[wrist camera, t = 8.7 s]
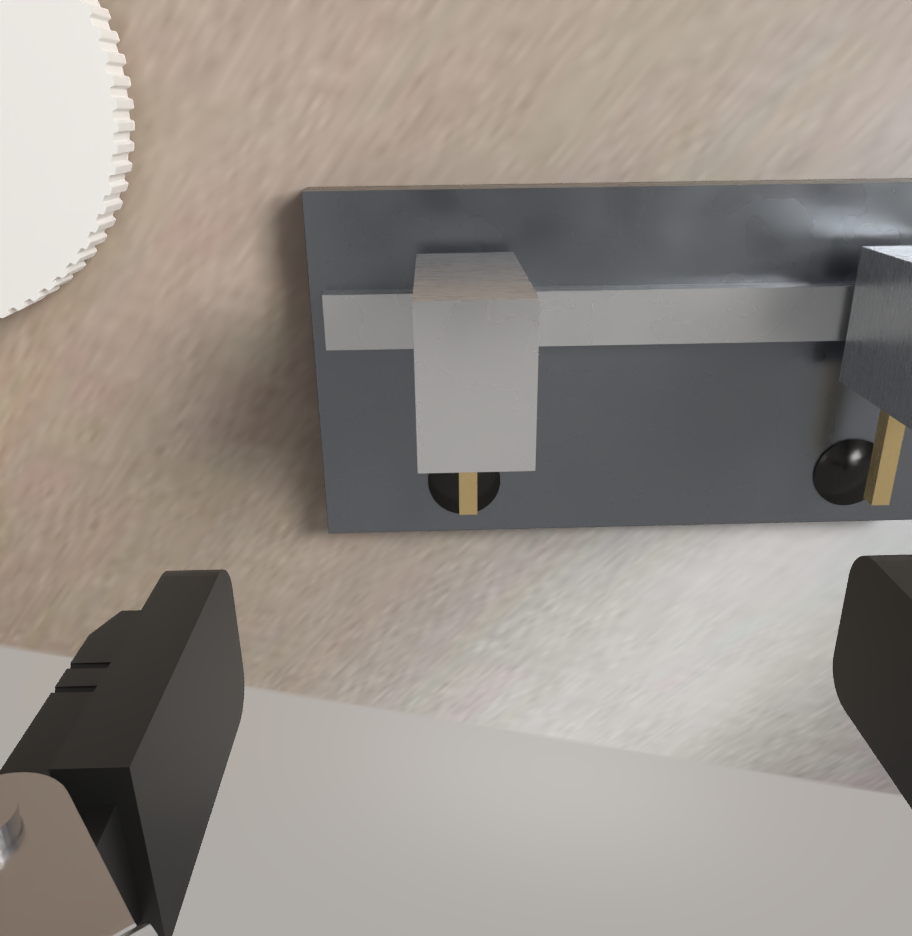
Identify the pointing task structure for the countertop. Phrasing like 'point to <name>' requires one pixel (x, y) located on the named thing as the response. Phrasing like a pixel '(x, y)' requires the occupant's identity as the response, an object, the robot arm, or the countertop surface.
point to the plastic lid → (58, 142)
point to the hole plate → (615, 350)
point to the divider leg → (474, 367)
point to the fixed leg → (882, 356)
